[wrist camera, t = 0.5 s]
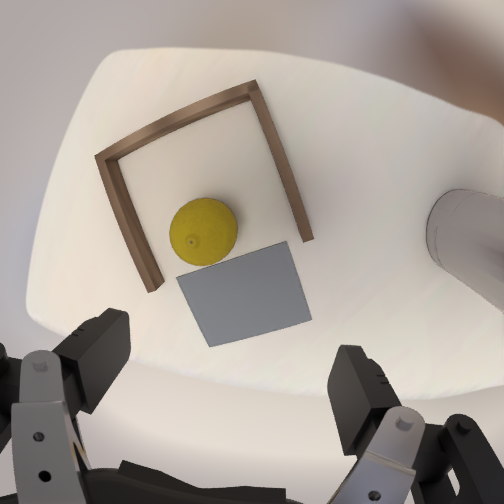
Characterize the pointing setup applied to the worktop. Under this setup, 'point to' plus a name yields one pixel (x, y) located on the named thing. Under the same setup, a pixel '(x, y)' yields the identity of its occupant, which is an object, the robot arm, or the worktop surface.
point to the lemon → (203, 232)
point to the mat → (246, 296)
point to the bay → (169, 124)
